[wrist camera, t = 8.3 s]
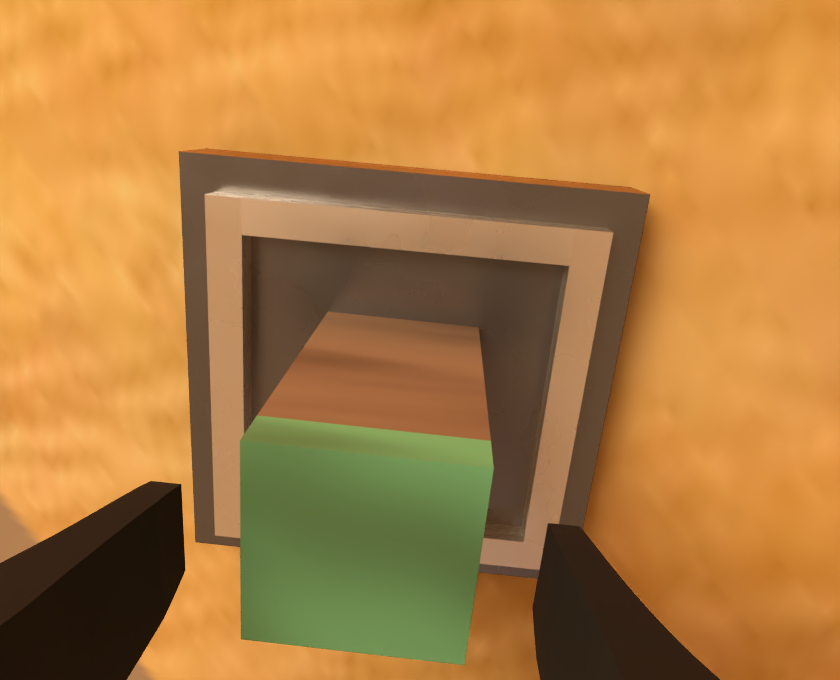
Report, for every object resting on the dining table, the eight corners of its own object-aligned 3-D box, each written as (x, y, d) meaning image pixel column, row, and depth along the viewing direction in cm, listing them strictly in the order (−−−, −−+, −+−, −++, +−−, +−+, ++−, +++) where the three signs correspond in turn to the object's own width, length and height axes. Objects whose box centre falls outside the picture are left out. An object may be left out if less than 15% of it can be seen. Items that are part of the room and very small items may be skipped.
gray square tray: (562, 544, 23) (575, 599, 21) (216, 508, 23) (186, 557, 21) (630, 187, 19) (658, 197, 16) (206, 148, 19) (166, 152, 17)
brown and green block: (461, 460, 20) (464, 664, 12) (322, 445, 20) (241, 638, 13) (478, 327, 18) (493, 468, 11) (327, 311, 19) (239, 440, 11)
